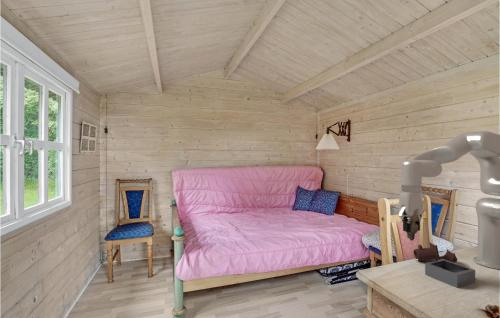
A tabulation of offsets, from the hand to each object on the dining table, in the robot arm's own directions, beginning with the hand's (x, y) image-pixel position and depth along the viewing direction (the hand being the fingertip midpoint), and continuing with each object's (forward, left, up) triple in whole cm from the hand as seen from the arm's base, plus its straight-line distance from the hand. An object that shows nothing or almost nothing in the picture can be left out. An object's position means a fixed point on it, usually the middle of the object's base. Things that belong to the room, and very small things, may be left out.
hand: (411, 230), depth 114 cm
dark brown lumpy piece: (-24, -3, -20) cm, 31 cm away
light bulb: (0, 0, -5) cm, 5 cm away
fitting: (-12, +9, -19) cm, 24 cm away
